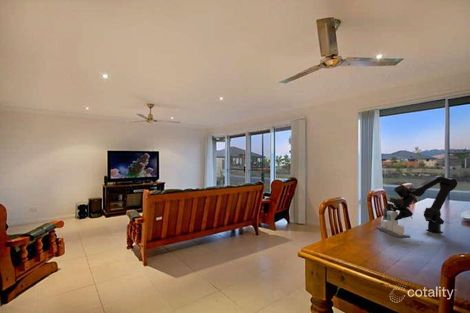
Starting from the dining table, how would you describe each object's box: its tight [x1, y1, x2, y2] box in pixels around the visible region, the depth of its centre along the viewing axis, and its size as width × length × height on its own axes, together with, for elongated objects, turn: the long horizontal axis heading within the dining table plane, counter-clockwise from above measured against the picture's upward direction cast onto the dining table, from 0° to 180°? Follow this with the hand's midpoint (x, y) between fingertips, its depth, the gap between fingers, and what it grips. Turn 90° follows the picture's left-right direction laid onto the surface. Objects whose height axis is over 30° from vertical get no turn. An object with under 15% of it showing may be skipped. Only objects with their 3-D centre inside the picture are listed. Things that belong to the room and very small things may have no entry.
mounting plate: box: [375, 219, 411, 239], centre depth 158 cm, size 9×20×6 cm, turn 2°
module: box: [387, 211, 398, 231], centre depth 158 cm, size 4×4×12 cm
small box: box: [382, 208, 399, 225], centre depth 179 cm, size 11×6×10 cm, turn 168°
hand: (390, 218), depth 158 cm, fingers open, 9 cm apart
